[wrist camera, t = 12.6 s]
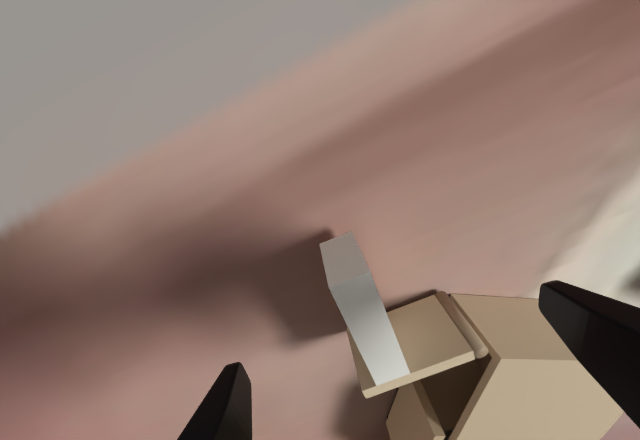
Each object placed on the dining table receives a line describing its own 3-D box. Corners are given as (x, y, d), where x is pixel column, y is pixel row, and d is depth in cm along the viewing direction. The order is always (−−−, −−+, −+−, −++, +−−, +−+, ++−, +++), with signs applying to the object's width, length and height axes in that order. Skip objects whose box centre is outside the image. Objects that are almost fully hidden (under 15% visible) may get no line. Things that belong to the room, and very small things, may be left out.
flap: (349, 335, 17) (366, 399, 14) (304, 243, 14) (310, 294, 11) (447, 298, 17) (489, 354, 13) (420, 196, 14) (465, 234, 10)
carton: (482, 462, 25) (518, 533, 21) (367, 466, 24) (383, 544, 20) (584, 302, 18) (666, 362, 15) (433, 292, 17) (478, 358, 13)
